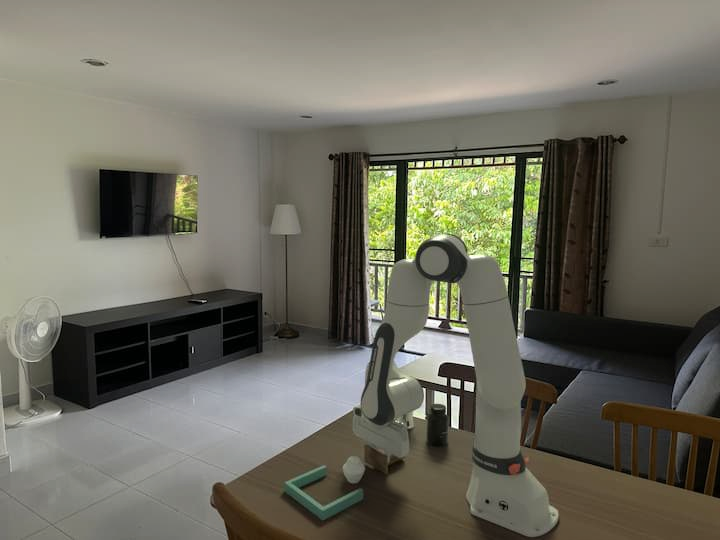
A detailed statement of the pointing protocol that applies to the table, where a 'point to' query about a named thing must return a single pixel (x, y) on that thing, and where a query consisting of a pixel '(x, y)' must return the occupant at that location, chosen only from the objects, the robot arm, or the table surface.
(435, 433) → the supplement bottle
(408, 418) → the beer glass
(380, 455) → the wooden post on base
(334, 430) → the table surface
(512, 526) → the robot arm
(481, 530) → the table surface
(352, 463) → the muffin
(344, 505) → the frame
